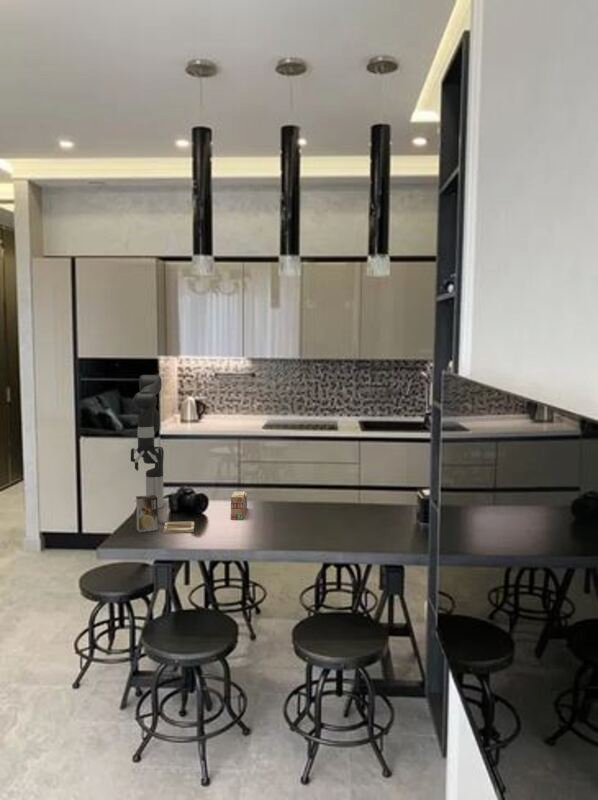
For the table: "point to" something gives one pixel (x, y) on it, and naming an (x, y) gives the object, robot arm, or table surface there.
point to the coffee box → (147, 513)
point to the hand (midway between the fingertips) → (146, 470)
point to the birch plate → (178, 527)
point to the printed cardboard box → (238, 505)
